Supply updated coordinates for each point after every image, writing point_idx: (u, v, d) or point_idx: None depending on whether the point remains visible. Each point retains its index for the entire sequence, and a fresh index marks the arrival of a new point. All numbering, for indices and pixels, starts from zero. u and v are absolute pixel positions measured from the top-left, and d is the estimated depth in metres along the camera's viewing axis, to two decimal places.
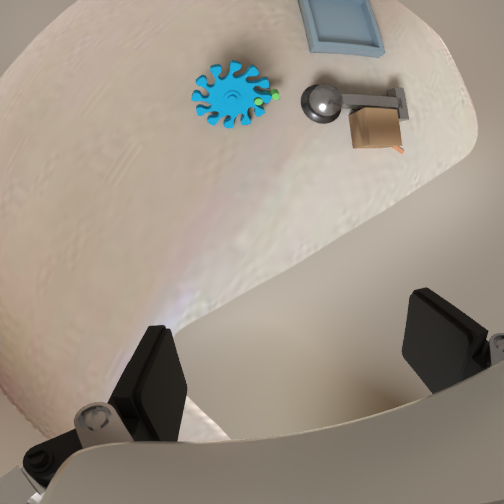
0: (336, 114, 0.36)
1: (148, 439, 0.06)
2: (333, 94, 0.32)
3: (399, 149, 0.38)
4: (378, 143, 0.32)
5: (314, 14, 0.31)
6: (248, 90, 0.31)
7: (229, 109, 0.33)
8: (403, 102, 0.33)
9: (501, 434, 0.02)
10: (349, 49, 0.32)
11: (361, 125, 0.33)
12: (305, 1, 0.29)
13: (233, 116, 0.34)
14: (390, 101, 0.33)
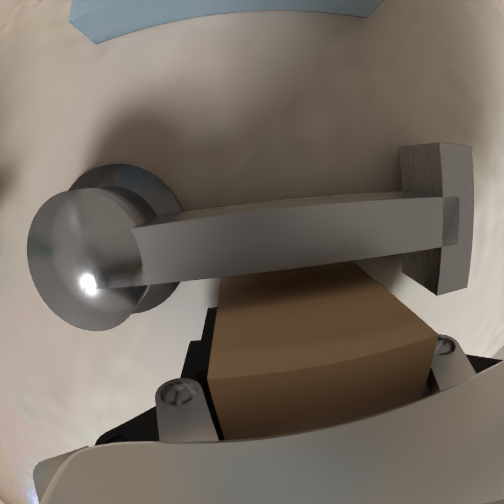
0: None
1: None
2: (97, 239, 0.07)
3: None
4: None
5: None
6: None
7: None
8: (462, 217, 0.07)
9: (501, 434, 0.02)
10: None
11: None
12: None
13: None
14: (411, 223, 0.07)
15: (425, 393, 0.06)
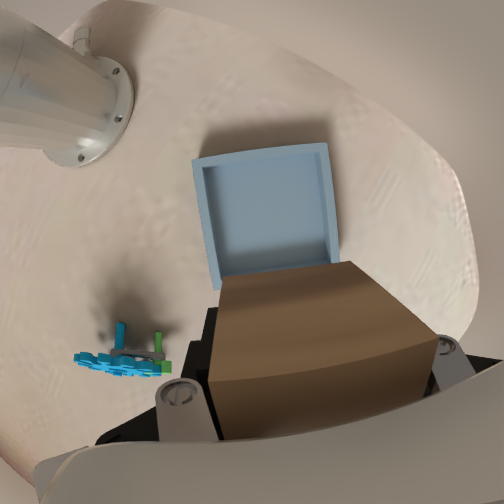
0: None
1: None
2: None
3: None
4: None
5: (223, 203, 0.26)
6: (131, 370, 0.25)
7: None
8: None
9: (501, 434, 0.02)
10: None
11: None
12: (200, 190, 0.23)
13: (128, 374, 0.28)
14: None
15: (425, 393, 0.06)
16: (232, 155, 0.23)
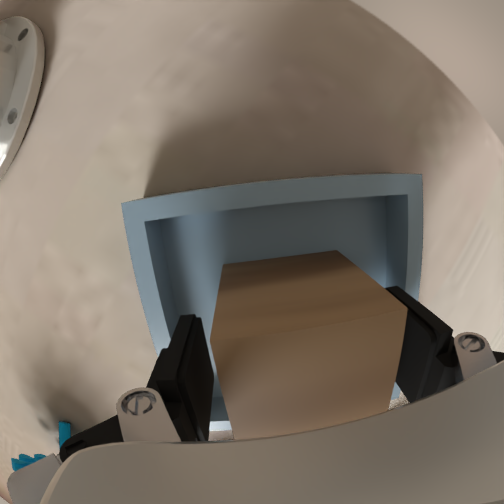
0: None
1: (188, 422, 0.07)
2: None
3: None
4: None
5: (196, 288, 0.12)
6: None
7: None
8: None
9: (501, 434, 0.02)
10: None
11: None
12: (143, 273, 0.10)
13: None
14: None
15: None
16: (215, 194, 0.10)
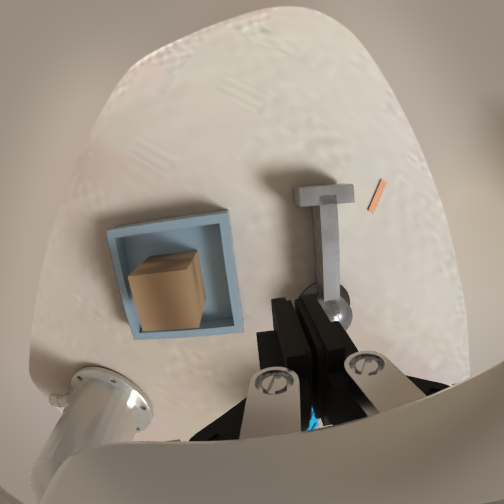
0: None
1: None
2: (325, 312, 0.26)
3: (380, 186, 0.27)
4: (193, 314, 0.22)
5: None
6: None
7: None
8: (326, 193, 0.24)
9: (501, 434, 0.02)
10: (236, 276, 0.26)
11: None
12: (156, 335, 0.27)
13: None
14: (328, 219, 0.24)
15: (351, 413, 0.06)
16: (127, 310, 0.26)
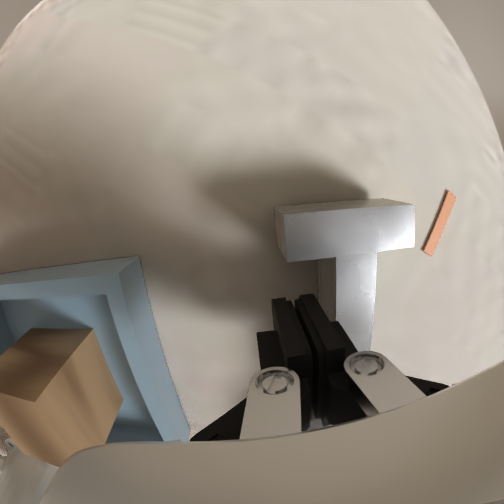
0: None
1: None
2: None
3: (446, 204, 0.12)
4: None
5: None
6: None
7: None
8: (353, 226, 0.09)
9: (501, 434, 0.02)
10: (158, 385, 0.12)
11: None
12: None
13: None
14: (355, 288, 0.10)
15: (350, 413, 0.06)
16: None
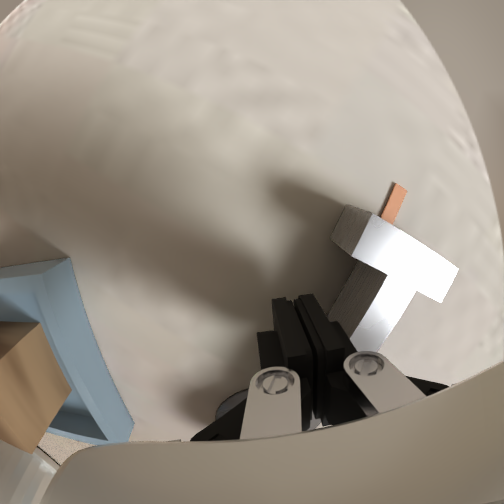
0: None
1: None
2: None
3: (393, 199, 0.12)
4: (17, 438, 0.08)
5: None
6: None
7: None
8: (413, 257, 0.09)
9: (501, 434, 0.02)
10: (89, 377, 0.12)
11: None
12: None
13: None
14: (384, 311, 0.10)
15: (350, 413, 0.06)
16: None
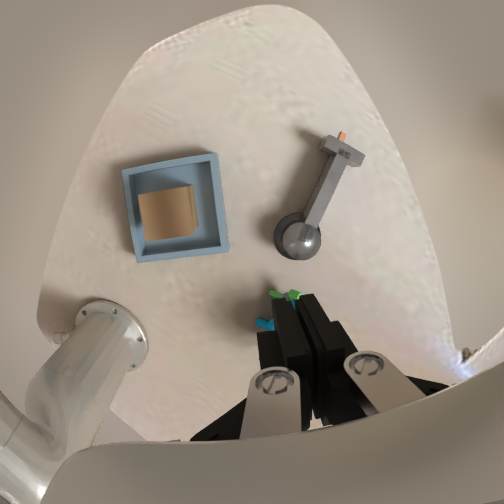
0: None
1: None
2: (301, 232, 0.33)
3: (341, 137, 0.33)
4: (187, 223, 0.28)
5: (169, 240, 0.35)
6: None
7: None
8: (345, 148, 0.30)
9: (501, 434, 0.02)
10: (222, 203, 0.33)
11: None
12: (156, 257, 0.33)
13: None
14: (338, 165, 0.31)
15: (350, 413, 0.06)
16: (133, 235, 0.32)
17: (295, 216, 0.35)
